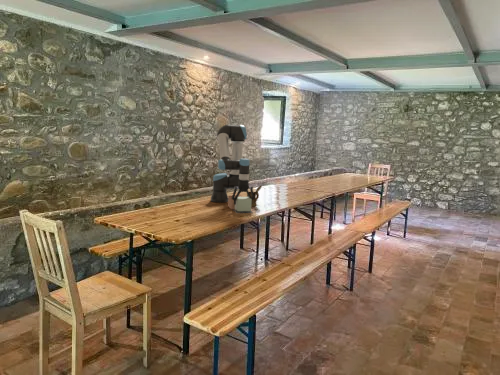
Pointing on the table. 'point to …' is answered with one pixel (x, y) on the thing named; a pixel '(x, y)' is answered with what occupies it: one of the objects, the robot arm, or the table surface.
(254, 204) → the wooden mug
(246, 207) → the sage cover
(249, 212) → the slate tile
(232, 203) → the terracotta cover
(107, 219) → the table surface
